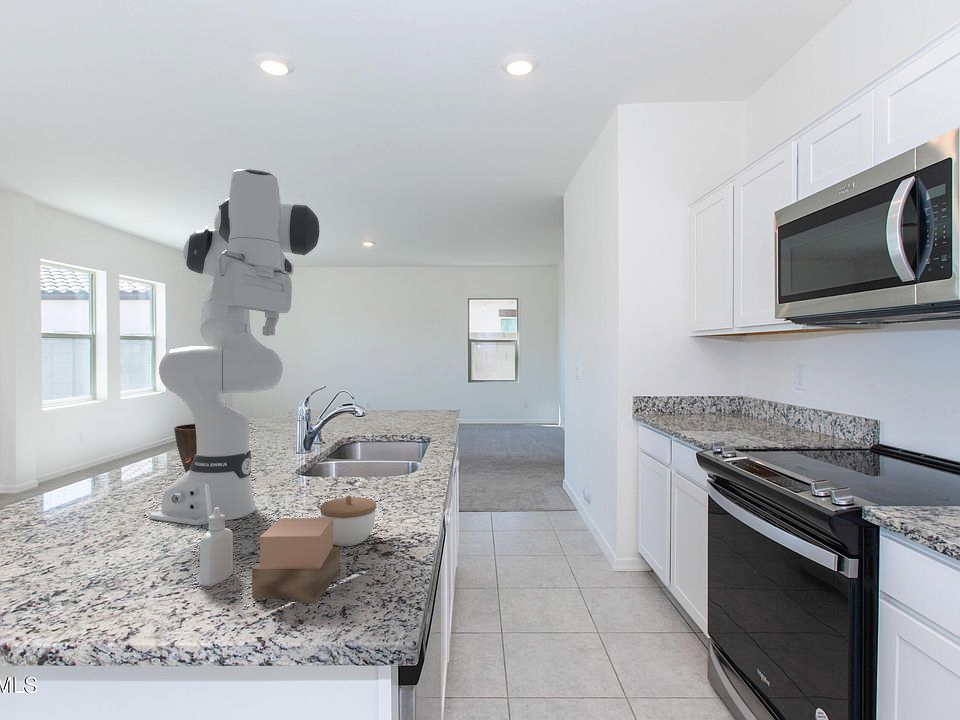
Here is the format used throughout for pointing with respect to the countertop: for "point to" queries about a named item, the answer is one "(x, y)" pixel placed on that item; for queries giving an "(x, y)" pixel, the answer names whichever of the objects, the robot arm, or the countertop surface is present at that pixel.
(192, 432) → the plant pot
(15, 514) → the countertop surface
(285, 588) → the walnut base block
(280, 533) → the terracotta top block
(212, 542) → the eye dropper bottle
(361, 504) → the lidded jar
